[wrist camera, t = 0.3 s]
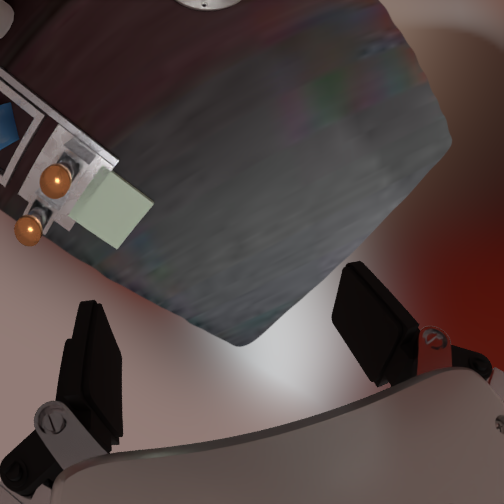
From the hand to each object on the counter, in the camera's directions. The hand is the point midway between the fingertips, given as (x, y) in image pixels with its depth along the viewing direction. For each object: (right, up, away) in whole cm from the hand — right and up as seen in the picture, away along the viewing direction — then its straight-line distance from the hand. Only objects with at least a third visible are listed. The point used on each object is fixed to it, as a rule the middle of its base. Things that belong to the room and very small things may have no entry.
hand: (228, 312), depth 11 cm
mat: (-21, +9, +32) cm, 39 cm away
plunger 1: (-29, +8, +24) cm, 39 cm away
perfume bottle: (-37, +21, +19) cm, 46 cm away
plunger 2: (-23, +14, +23) cm, 35 cm away
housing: (-32, +17, +23) cm, 43 cm away
